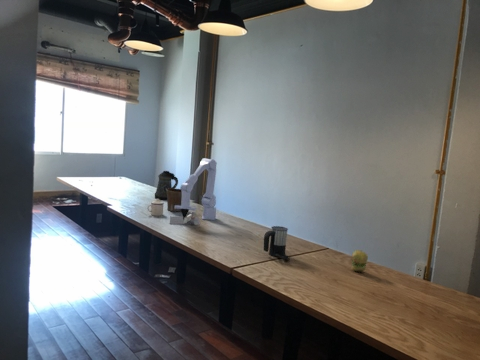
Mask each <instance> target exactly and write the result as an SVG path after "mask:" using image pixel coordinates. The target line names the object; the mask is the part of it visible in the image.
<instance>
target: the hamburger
mask: <svg viewBox="0 0 480 360" xmlns="http://www.w3.org/2000/svg"><path fill="white" fill-rule="evenodd" d="M351 258H352V262H351V263H352V264H351V265H352V266H351V268H350V269H351V270H352V271H356V272H364V271H365V270H366V266H367V265H366V264H367V262H368V260H369V257H368V255H367V253H366V252H364V251H363V249H361V250H358V249H357V250H354V251H353V252H352V254H351Z"/></svg>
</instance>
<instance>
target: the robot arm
mask: <svg viewBox="0 0 480 360" xmlns="http://www.w3.org/2000/svg"><path fill="white" fill-rule="evenodd" d="M205 170H206V171H207V172H208V173H207V174H208V175H207V181H206V189H205V193H204V194H203V195H202V199H201V205H202V208H203V210H202V216H201V219H202V220H210V221H216V217H217V216H216V215H217V207H216V204H217V200H216V196H215V194H214V191H215V183H216V175H217V161H216V160H215V159H211V158H206V157H204V158H202V159H201V161H200V163H199V166H198V167H197V168H196V170H195V171H194V173H193V174H192V173H191V174H190V175H189V177H188V178H187V179H186V180H185V182H183V183H181V185H180V188H179V189H181V191H182V200H181V206H176V205H175V209H181V215H182V217H183V220H184V218H185V217H186V216H188V213H189V211H193V212H195V211H196V210H197V207H196V206H195V207H193V206H190V205H191V204H190V202H191V192H192V191H193V188H194V185H195V184H196V182H197V181H198V180H199V179H198V177H199V176H200V175H201V174H202V173H203V172H204V171H205Z"/></svg>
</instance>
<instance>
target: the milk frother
mask: <svg viewBox="0 0 480 360" xmlns="http://www.w3.org/2000/svg"><path fill="white" fill-rule="evenodd" d="M288 230H289V228H288V227H284V226H278V225H276V226H274V225H273V226H271V230H267V231H266V232H265V234H264V236H263V251H264V252H266V253H267V252H268V255H270V256H272V257H275V258H276V257H277V258H279V257H280V258H281V259H283V260H284V261H286V262H288V260H289V261H290V260H291V259H290V257H289V256H288V255H286V247H287V240H288V239H287V237H288Z"/></svg>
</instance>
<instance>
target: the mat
mask: <svg viewBox="0 0 480 360" xmlns="http://www.w3.org/2000/svg"><path fill="white" fill-rule="evenodd" d="M194 217H195V216H194ZM200 224H201V223H200V221H199V217H195V220H194V225H193V226H201V225H200ZM169 225H176V226H177V225H183V226H192V225H191V220H190V221H188V222H187V223H184V220H183V216H174V215H173V216H170V217H169Z"/></svg>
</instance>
